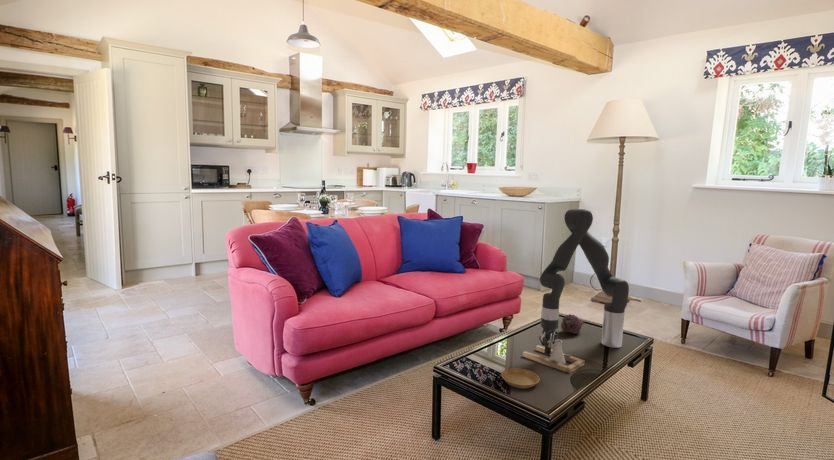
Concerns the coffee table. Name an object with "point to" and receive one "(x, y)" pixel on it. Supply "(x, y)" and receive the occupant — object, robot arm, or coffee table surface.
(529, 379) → the plant saucer
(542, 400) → the coffee table surface
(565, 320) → the pine cone
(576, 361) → the beam channel
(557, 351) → the flask
